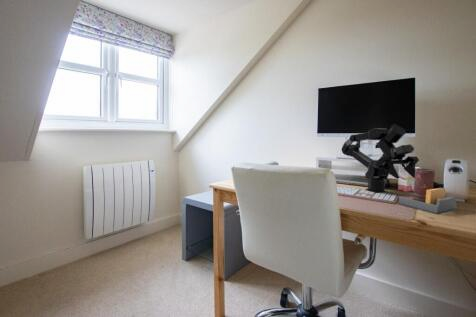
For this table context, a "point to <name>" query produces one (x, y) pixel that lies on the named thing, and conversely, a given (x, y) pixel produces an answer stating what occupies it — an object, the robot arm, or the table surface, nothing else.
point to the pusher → (434, 195)
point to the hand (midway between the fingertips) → (407, 178)
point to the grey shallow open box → (431, 205)
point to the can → (423, 183)
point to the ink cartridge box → (406, 180)
